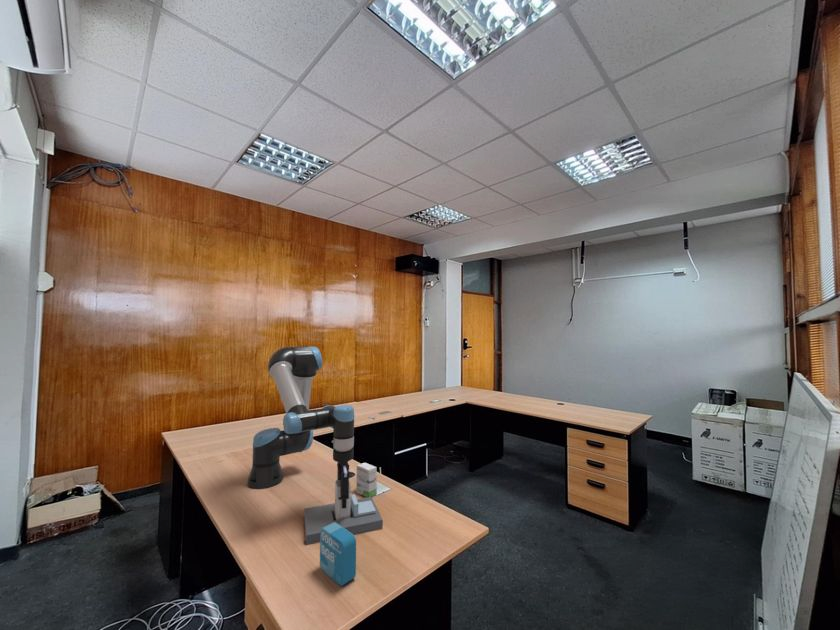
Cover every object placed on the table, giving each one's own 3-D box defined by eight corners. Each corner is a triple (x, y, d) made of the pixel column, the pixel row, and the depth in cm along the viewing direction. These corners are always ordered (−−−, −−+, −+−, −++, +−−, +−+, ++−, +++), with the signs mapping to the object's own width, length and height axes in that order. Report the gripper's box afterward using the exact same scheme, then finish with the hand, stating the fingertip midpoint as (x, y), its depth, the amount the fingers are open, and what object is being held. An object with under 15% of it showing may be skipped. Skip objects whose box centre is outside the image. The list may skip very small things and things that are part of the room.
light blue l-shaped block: (350, 506, 128) (350, 494, 128) (371, 502, 131) (371, 491, 131) (354, 516, 120) (354, 504, 120) (375, 512, 123) (375, 500, 123)
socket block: (304, 516, 126) (304, 508, 126) (371, 504, 135) (371, 496, 136) (306, 544, 109) (306, 535, 110) (382, 528, 119) (382, 519, 119)
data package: (319, 567, 99) (320, 526, 99) (332, 560, 102) (333, 520, 103) (342, 588, 91) (343, 543, 91) (356, 579, 94) (356, 536, 95)
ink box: (377, 494, 144) (377, 466, 145) (368, 498, 140) (368, 470, 141) (364, 488, 149) (364, 461, 150) (355, 492, 146) (356, 464, 146)
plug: (334, 514, 124) (335, 480, 125) (348, 512, 126) (348, 478, 126) (336, 521, 119) (336, 486, 120) (350, 519, 121) (350, 483, 122)
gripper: (330, 441, 131) (329, 502, 130) (336, 457, 114) (334, 527, 113) (349, 439, 134) (348, 498, 132) (357, 455, 117) (356, 523, 116)
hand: (342, 512), depth 123 cm, fingers closed on plug, 5 cm apart
